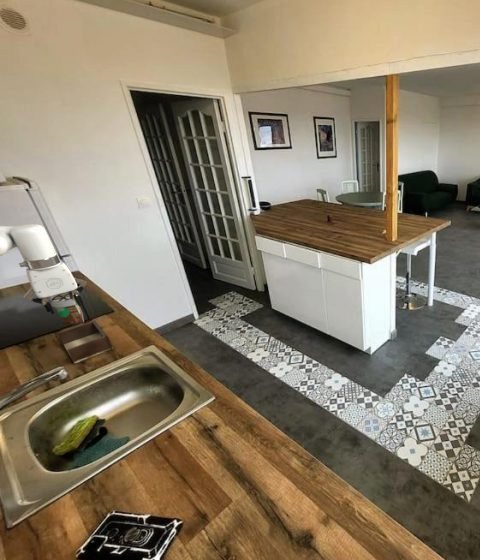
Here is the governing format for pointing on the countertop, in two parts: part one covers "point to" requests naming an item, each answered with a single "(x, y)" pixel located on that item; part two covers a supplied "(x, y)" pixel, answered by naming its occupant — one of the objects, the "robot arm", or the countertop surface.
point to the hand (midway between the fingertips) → (66, 308)
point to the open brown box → (85, 341)
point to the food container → (67, 308)
